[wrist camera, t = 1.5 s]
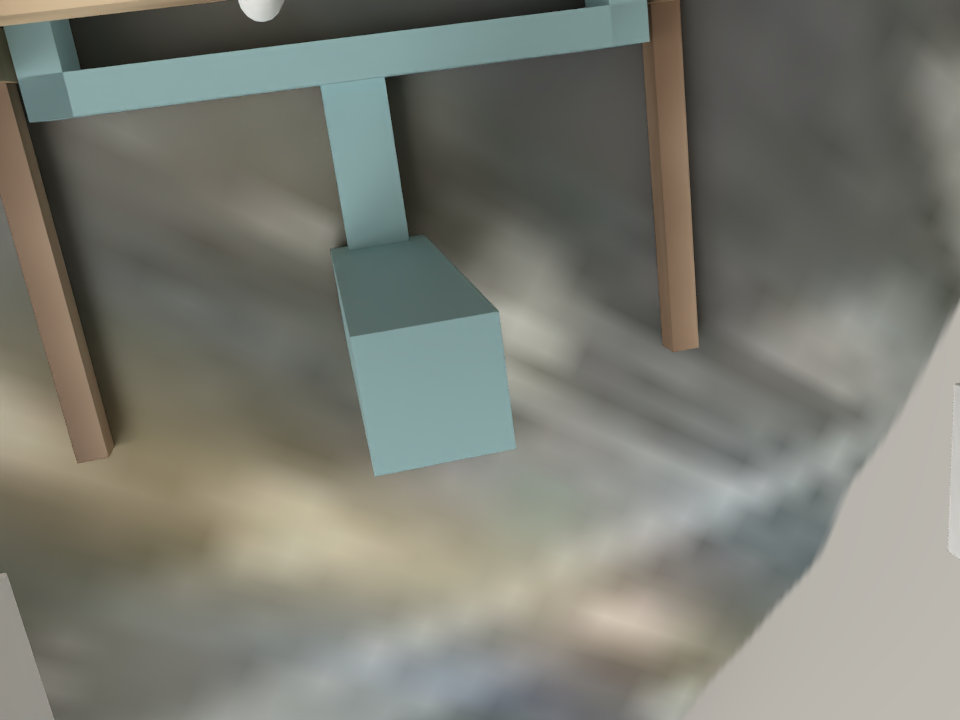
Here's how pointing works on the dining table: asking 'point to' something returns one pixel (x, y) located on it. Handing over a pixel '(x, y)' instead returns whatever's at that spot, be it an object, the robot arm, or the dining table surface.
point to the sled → (362, 201)
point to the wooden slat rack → (3, 129)
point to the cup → (261, 9)
